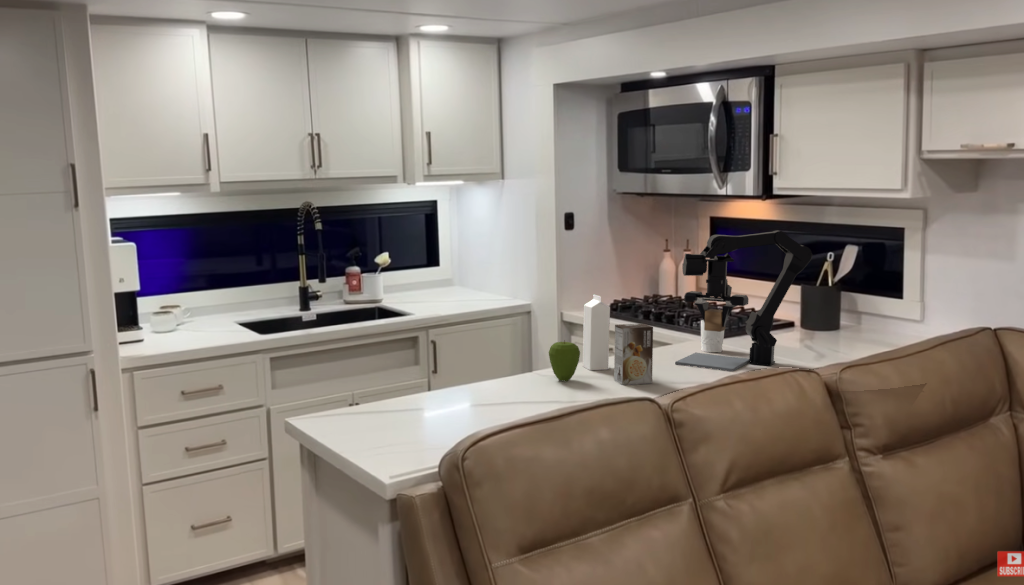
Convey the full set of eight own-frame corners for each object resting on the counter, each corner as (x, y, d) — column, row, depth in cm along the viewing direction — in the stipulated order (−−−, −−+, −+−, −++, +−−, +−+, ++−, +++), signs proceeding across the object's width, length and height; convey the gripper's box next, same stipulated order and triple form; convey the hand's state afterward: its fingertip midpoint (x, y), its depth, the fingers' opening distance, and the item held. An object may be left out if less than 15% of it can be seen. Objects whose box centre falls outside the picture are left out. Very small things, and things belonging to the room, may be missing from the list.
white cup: (722, 349, 296) (723, 319, 294) (725, 353, 288) (726, 323, 287) (698, 348, 296) (699, 319, 295) (700, 352, 289) (702, 322, 287)
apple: (584, 379, 247) (585, 339, 246) (570, 385, 240) (571, 343, 239) (557, 375, 252) (557, 336, 250) (543, 381, 244) (543, 340, 243)
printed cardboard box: (643, 378, 249) (644, 323, 247) (652, 383, 243) (654, 326, 241) (613, 380, 246) (614, 324, 244) (621, 385, 240) (623, 327, 238)
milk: (600, 365, 266) (602, 293, 264) (608, 369, 261) (610, 296, 258) (581, 366, 265) (584, 294, 262) (589, 370, 259) (591, 296, 256)
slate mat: (750, 361, 275) (750, 358, 275) (732, 371, 260) (732, 368, 260) (695, 354, 285) (695, 352, 285) (675, 364, 269) (675, 361, 269)
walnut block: (725, 329, 272) (726, 310, 271) (720, 331, 268) (720, 312, 267) (709, 328, 274) (710, 309, 274) (704, 330, 270) (705, 311, 270)
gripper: (754, 275, 271) (752, 325, 273) (696, 272, 281) (695, 320, 283) (743, 278, 262) (741, 330, 263) (684, 274, 271) (682, 324, 273)
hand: (715, 326), depth 271 cm, fingers closed on walnut block, 5 cm apart
